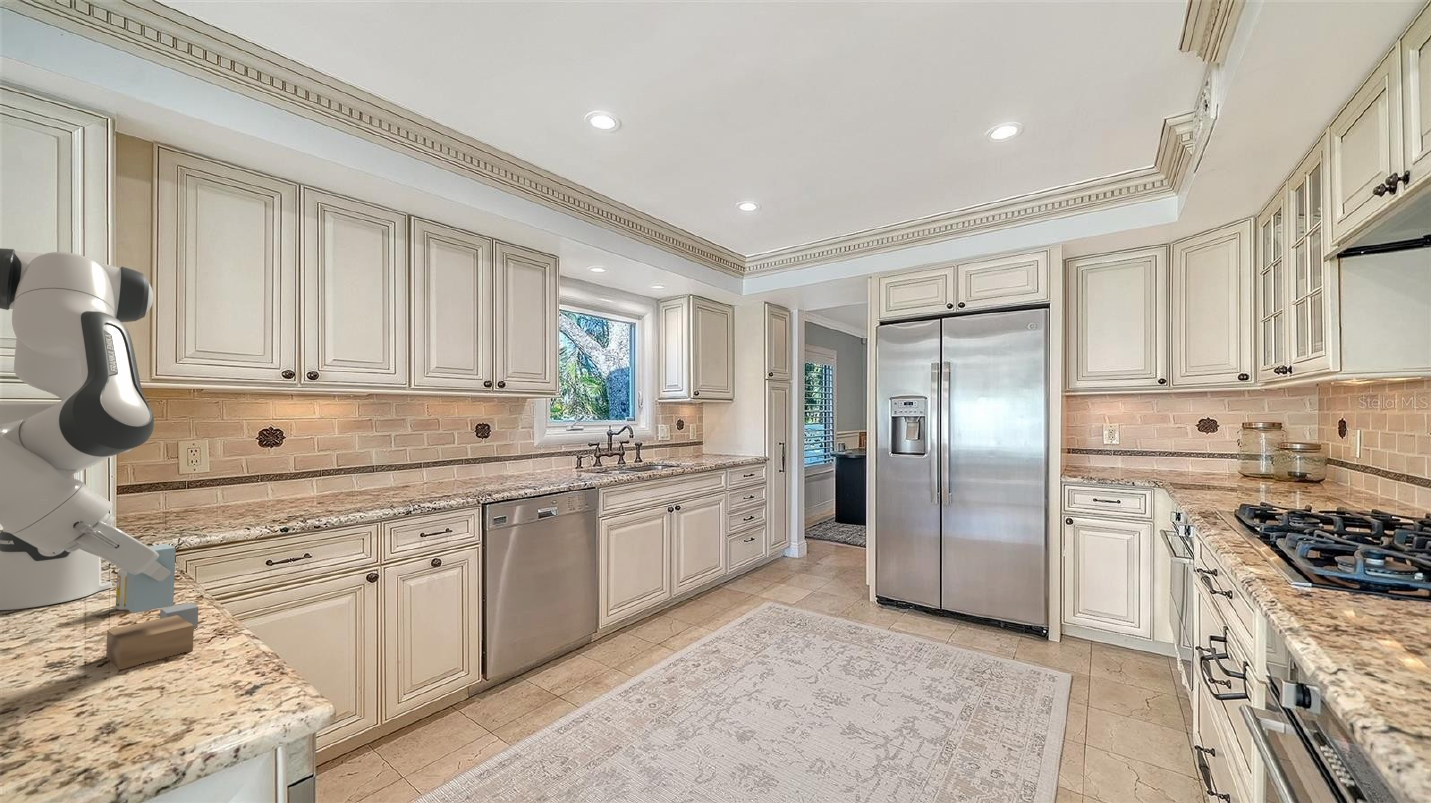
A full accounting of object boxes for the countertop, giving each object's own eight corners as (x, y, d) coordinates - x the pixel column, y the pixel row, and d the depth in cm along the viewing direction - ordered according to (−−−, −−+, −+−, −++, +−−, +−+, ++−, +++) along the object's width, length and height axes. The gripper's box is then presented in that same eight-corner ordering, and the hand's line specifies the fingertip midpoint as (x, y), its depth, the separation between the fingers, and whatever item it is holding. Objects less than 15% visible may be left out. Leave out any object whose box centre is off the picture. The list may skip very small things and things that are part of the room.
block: (159, 632, 96) (160, 608, 96) (190, 625, 100) (191, 602, 100) (165, 637, 94) (166, 613, 94) (197, 630, 97) (198, 606, 98)
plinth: (106, 656, 86) (107, 630, 86) (176, 639, 93) (177, 615, 93) (120, 669, 82) (121, 641, 82) (192, 650, 89) (193, 625, 89)
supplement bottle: (107, 610, 106) (109, 559, 106) (136, 601, 111) (138, 552, 112) (135, 610, 106) (137, 559, 106) (163, 601, 111) (165, 553, 112)
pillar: (125, 607, 87) (128, 549, 87) (164, 600, 90) (166, 544, 91) (133, 613, 84) (136, 553, 85) (173, 605, 88) (175, 547, 88)
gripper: (111, 509, 77) (201, 566, 85) (76, 497, 88) (159, 548, 96) (60, 548, 73) (160, 603, 81) (30, 530, 84) (120, 581, 92)
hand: (159, 573), depth 88 cm, fingers closed on pillar, 4 cm apart
